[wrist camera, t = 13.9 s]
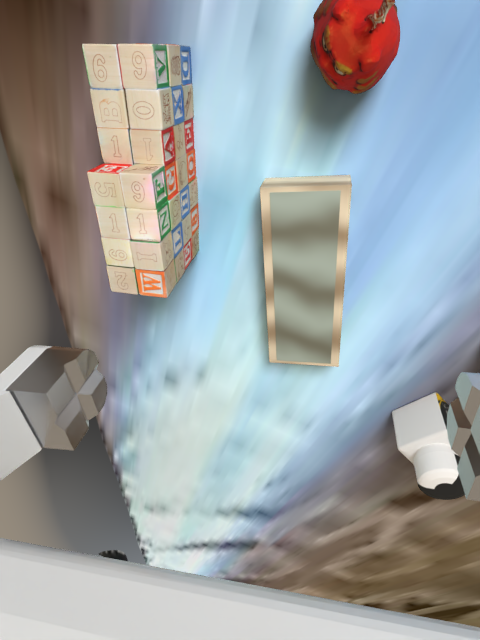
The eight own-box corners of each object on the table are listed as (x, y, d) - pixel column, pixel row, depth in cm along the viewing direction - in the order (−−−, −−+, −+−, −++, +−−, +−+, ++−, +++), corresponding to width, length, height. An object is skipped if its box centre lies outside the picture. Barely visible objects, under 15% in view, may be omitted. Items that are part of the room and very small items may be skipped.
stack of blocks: (130, 44, 38) (58, 39, 28) (191, 45, 37) (139, 41, 27) (154, 246, 50) (109, 293, 40) (200, 251, 49) (166, 300, 39)
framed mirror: (265, 178, 42) (259, 188, 39) (350, 174, 41) (351, 185, 37) (273, 344, 55) (269, 362, 52) (338, 348, 53) (338, 367, 50)
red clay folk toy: (295, 35, 35) (275, 24, 23) (364, -38, 31) (383, -97, 19) (344, 107, 37) (350, 131, 25) (413, 46, 34) (458, 40, 22)
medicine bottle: (463, 420, 56) (490, 496, 46) (418, 437, 60) (434, 512, 50) (436, 390, 54) (458, 463, 44) (390, 410, 58) (402, 482, 48)
